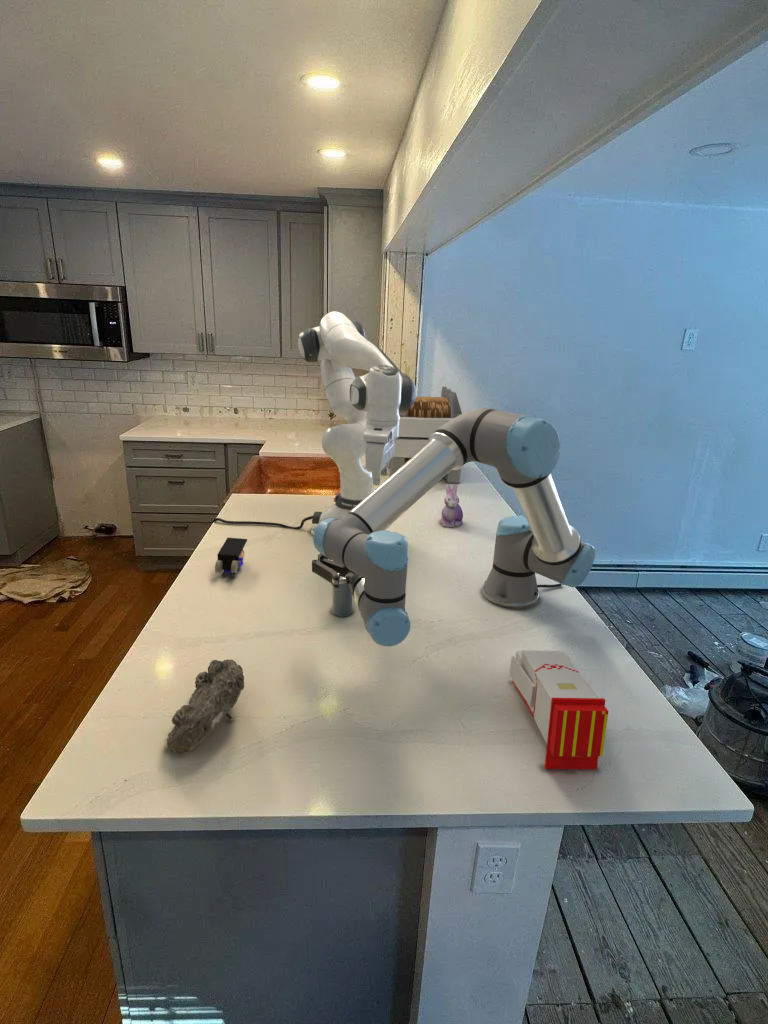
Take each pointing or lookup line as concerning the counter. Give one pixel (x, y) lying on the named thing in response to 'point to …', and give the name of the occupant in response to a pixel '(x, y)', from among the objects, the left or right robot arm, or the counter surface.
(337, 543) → the right robot arm
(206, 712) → the fossil
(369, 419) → the left robot arm
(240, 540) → the figurine character
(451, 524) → the figurine
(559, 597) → the counter surface
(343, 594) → the jar
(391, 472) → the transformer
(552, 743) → the toy
